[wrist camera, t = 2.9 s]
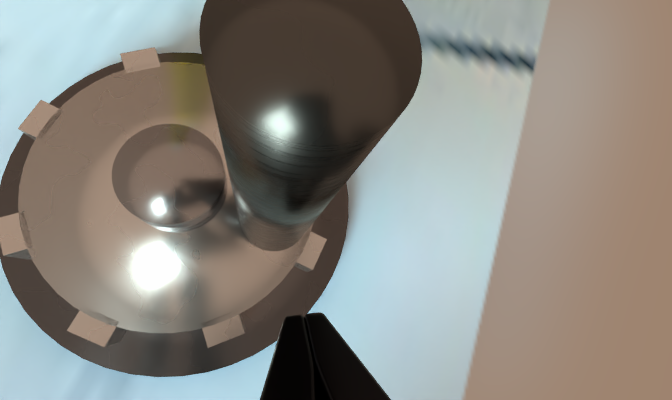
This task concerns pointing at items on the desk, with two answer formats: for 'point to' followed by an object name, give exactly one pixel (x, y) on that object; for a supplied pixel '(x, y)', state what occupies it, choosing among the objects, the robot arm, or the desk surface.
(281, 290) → the base plate
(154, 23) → the desk surface
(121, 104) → the sprocket
